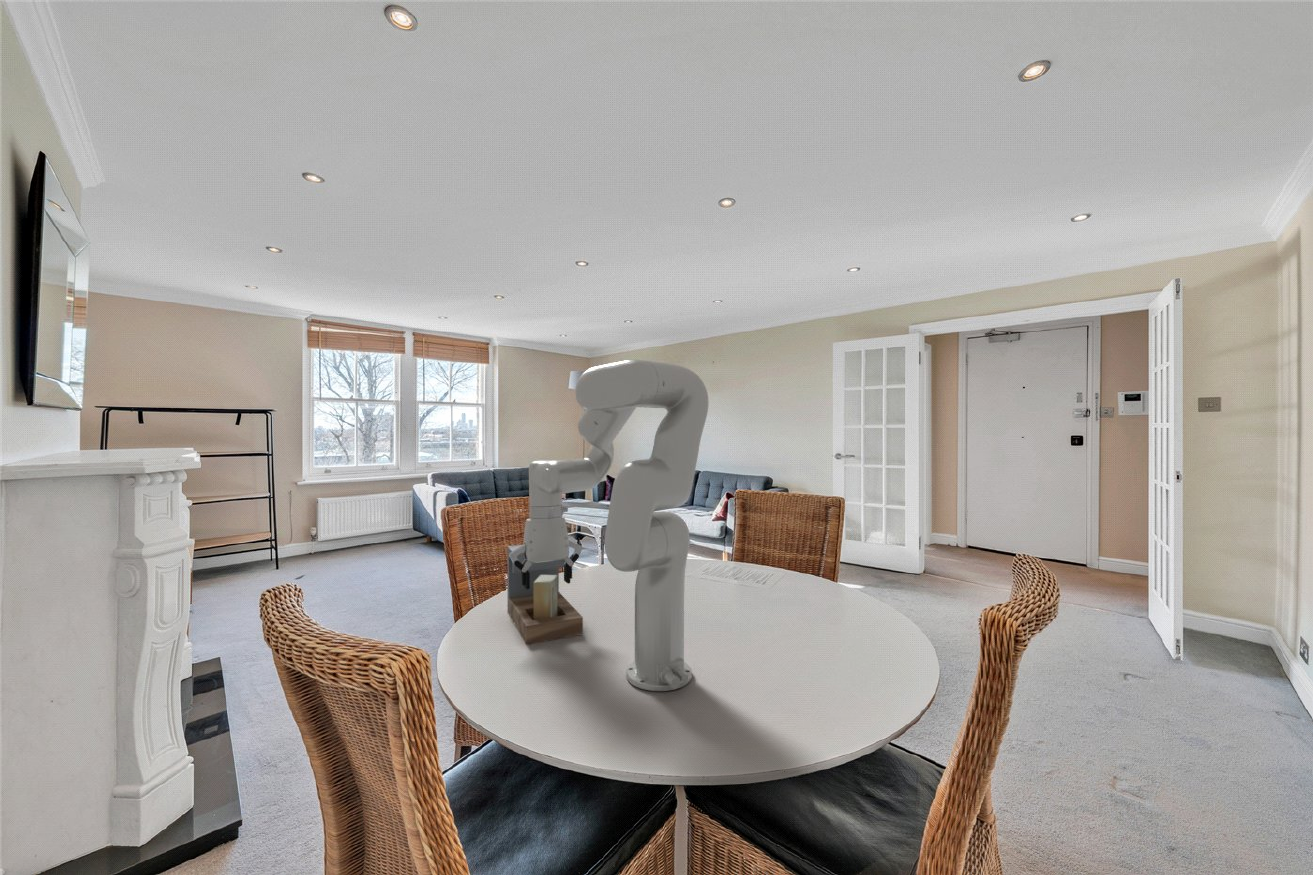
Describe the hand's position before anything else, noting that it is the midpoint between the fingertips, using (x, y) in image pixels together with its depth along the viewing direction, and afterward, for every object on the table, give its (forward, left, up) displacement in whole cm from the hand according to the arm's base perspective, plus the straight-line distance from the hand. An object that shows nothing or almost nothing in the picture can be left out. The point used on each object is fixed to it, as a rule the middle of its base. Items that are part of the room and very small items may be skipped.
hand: (547, 585), depth 125 cm
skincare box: (+1, 0, -11) cm, 11 cm away
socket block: (+4, 0, -11) cm, 11 cm away
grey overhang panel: (+13, 0, -11) cm, 17 cm away
